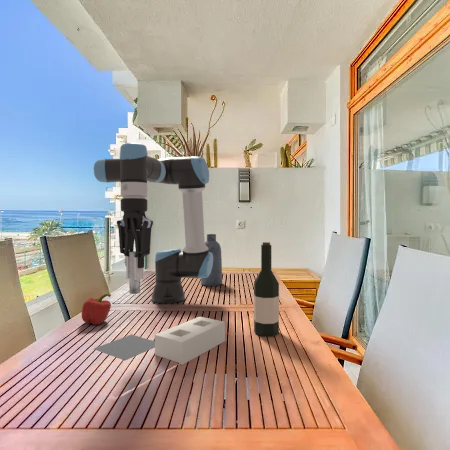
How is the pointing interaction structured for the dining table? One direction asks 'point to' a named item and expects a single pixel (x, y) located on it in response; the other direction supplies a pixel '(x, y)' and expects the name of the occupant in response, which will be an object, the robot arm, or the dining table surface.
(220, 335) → the block
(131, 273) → the peg
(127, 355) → the mat
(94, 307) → the vegetable
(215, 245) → the blue-grey bottle
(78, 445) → the dining table surface
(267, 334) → the wine bottle
